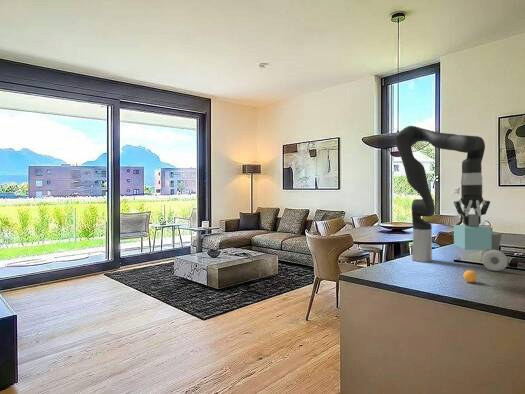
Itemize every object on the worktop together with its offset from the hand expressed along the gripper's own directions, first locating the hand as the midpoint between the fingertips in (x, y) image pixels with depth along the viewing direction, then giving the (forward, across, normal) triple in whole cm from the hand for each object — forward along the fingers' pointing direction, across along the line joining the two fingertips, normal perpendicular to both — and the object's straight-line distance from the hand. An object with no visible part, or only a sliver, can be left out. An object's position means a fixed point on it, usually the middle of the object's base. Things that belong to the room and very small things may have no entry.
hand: (471, 224), depth 146 cm
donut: (+24, +19, +19) cm, 36 cm away
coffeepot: (+24, +26, +38) cm, 52 cm away
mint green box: (+9, 0, 0) cm, 9 cm away
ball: (+22, -1, 0) cm, 22 cm away
